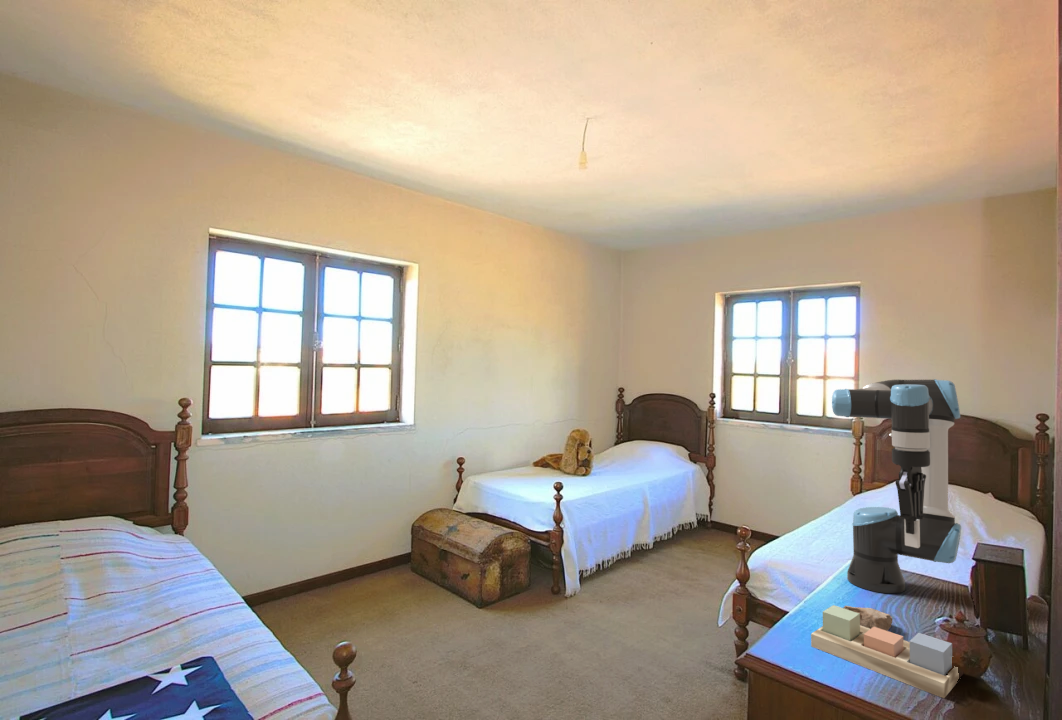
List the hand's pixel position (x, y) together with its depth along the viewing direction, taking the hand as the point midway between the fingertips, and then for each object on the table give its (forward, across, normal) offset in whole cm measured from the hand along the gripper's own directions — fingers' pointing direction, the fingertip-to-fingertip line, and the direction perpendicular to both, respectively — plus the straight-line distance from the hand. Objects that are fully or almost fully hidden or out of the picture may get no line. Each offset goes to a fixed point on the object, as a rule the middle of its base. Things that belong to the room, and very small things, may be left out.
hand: (912, 545), depth 129 cm
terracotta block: (+23, +13, -2) cm, 27 cm away
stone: (+25, -2, -10) cm, 27 cm away
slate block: (+21, +13, +7) cm, 26 cm away
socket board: (+24, +14, -2) cm, 27 cm away
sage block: (+21, +14, -11) cm, 27 cm away
